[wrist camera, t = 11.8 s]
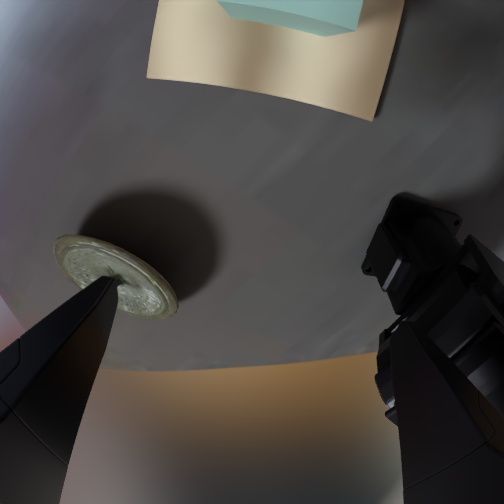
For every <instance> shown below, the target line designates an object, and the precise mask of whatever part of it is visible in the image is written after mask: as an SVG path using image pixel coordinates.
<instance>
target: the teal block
mask: <svg viewBox="0 0 504 504" xmlns="http://www.w3.org/2000/svg"><path fill="white" fill-rule="evenodd" d="M217 2H218V3H219V4H220V6H221V7H222V8H223V9H224V10H225V12H226V13H227V14H228V15H229V16H230V18H234V19H241V20H248V21H254V22H260V23H265V24H271V25H276V26H281V27H285V28H290V29H294V30H298V31H303V32H307V33H311V34H314V35H318V36H322V37H327V36H332V35H337V34H343V33H348V32H354V31H356V29H357V25H358V21H359V16H360V12H361V8H362V4H363V0H217Z"/></svg>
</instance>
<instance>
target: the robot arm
mask: <svg viewBox="0 0 504 504" xmlns="http://www.w3.org/2000/svg"><path fill="white" fill-rule="evenodd" d="M398 202H400V204H399V205H398V206H395V204H396V203H398ZM456 220H457V221H456ZM455 221H456V222H455ZM454 222H455V223H454ZM461 223H462V219H461V218H460V217H459V215H457V214H454V213H451V212H448V211H445V210H442V209H439V208H436V207H433V206H430V205H427V204H423V203H420V202H417V201H413V200H410V199H407V198H403V197H400V196H395V197H393V198H392V199H391V201H390V203H389V206H388V208H387V210H386V213H385V215H384V217H383V220H382V222H381V223H380V224H379V225H378V227H377V229H376V232H375V234H374V236H373V238H372V241H371V243H370V245H369V247H368V249H367V252H366V253H367V255H366V258H365V260H364V262H363V264H362V266H361V269H362V271H363V273H364V274H365V275H370V276H376V277H377V279H378V282H379V284H380V286H381V289H382V291H383V292H387V294H388V296H389V299H390V301H391V304H392V306H393V309H394V311H395V314H397V315H401V316H400V317H399V318H398V319H397V320H396V321H395V322H394V323H393V324H392V325H391V326H390V327H389V328H388V329H385V330H384V331H383V332H382V333H381V334H380V335H379V350H378V354H377V367H378V368H377V369H378V373H377V374H376V375H375V383H376V385H377V388H378V390H379V393H380V396H381V398H382V400H383V401H384V403H385V404H386V406H387V407H388V408H389V410H387V411H386V412H385V416H386V417H387V418H388V419H389V420H390V421H392V422H393V423H394V424H395V425H397V426H398V430H399V439H400V449H401V462H402V475H403V489H404V490H403V498H404V504H504V262H503V261H502V260H501V259H500V258H499V257H497V256H496V255H495V254H494V253H493V252H491V251H490V250H489V249H488V248H487V247H485V246H484V245H483V244H482V243H480V242H479V241H478V240H477V239H475V238H474V237H473V236H471V235H470V234H469V235H468V237H467V238H466V239H465V240H464V242H465V243H464V244H463V246H461V244H460V243H459V242H458V241H457V239H456V238H455V235H456V233H457V231H458V229H459V227H460V225H461ZM368 267H370V268H369V269H367V268H368ZM117 306H118V290H117V281H116V279H115V278H114V277H110V276H105V275H103V276H101V277H99V278H98V279H96V280H95V281H94V282H92V283H91V284H89V285H88V286H87V287H85V288H84V289H82V290H81V291H80V292H78V293H77V294H76V295H74V296H73V297H71V298H70V299H69V300H67V301H66V302H65V303H63V304H62V305H61V306H59V307H58V308H57V309H55V310H54V311H53V312H51V313H50V314H49V315H47V316H46V317H45V318H43V319H42V320H41V321H39V322H38V323H37V324H36V325H34V326H33V327H32V328H30V329H29V330H28V331H27V332H25V333H24V334H23V335H22V336H20V339H19V338H18V339H16V340H15V341H14V342H13V343H11V344H10V345H9V346H7V347H6V348H5V349H4V350H2V351H1V352H0V504H59V502H60V498H61V493H62V489H63V485H64V481H65V477H66V473H67V468H68V464H69V460H70V457H71V453H72V450H73V446H74V443H75V439H76V436H77V432H78V429H79V426H80V423H81V420H82V416H83V413H84V410H85V407H86V404H87V401H88V398H89V395H90V392H91V389H92V386H93V383H94V380H95V378H96V375H97V372H98V369H99V366H100V364H101V361H102V358H103V356H104V353H105V350H106V347H107V343H108V339H109V335H110V331H111V328H112V324H113V320H114V316H115V313H116V309H117Z"/></svg>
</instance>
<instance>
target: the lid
mask: <svg viewBox="0 0 504 504" xmlns="http://www.w3.org/2000/svg"><path fill="white" fill-rule="evenodd" d="M53 252H54V255H55V259H56V261H57V263H58V265H59V267H60V268H61V270H62V271H63V273H64V274H65V275H66V277H67V278H68V279H69V280H70V281H71V282H72V283H73V284H74V285H75V286H76V287H77V288H78V289H80V290H82V289H84V288H85V287H87V286H88V285H89V284H91V283H92V282H94V281H95V280H96V279H98V278H99V277H101V276H103V275H105V276H110V277H114V278H115V279H116V281H117V290H118V306H117V309H116V310H117V311H120V312H123V313H125V314H129V315H132V316H136V317H140V318H145V319H165V318H169V317H171V316H173V315H174V314H175V313H176V312H177V309H178V307H179V306H178V299H177V296H176V294H175V292H174V290H173V289H172V287H171V286H170V284H169V283H168V282H167V281H166V280H165V279H164V278H163V276H162V275H161V274H159V273H158V272H157V271H156V270H155V269H154V268H152V267H151V266H150V265H148V264H147V263H146V262H144V261H143V260H141V259H140V258H138V257H137V256H135V255H133V254H131V253H129V252H127V251H126V250H124V249H123V248H120V247H118V246H115V245H113V244H111V243H109V242H105V241H102V240H99V239H96V238H92V237H87V236H82V235H63V236H61V237H59V238H58V239H57V240H56V241H55V243H54V247H53Z"/></svg>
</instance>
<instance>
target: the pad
mask: <svg viewBox="0 0 504 504" xmlns="http://www.w3.org/2000/svg"><path fill="white" fill-rule="evenodd" d="M404 2H405V0H363V4H362V8H361V12H360V16H359V21H358V25H357V29H356V31H354V32H348V33H343V34H337V35H332V36H327V37H322V36H318V35H314V34H311V33H307V32H303V31H298V30H294V29H290V28H285V27H281V26H276V25H271V24H265V23H260V22H254V21H248V20H241V19H234V18H230V16H229V15H228V14H227V13H226V12H225V10H224V9H223V8H222V7H221V6H220V4H219V3H218V2H217V0H159V4H158V9H157V15H156V20H155V25H154V31H153V37H152V43H151V49H150V56H149V63H148V70H147V78H153V79H166V80H177V81H186V82H195V83H203V84H211V85H218V86H225V87H231V88H237V89H243V90H249V91H254V92H259V93H264V94H269V95H274V96H279V97H284V98H288V99H292V100H297V101H301V102H305V103H309V104H313V105H317V106H321V107H324V108H328V109H332V110H335V111H339V112H342V113H346V114H349V115H352V116H356V117H359V118H362V119H365V120H368V121H371V122H372V121H373V118H374V114H375V111H376V108H377V105H378V101H379V98H380V94H381V91H382V88H383V84H384V81H385V77H386V74H387V70H388V66H389V63H390V59H391V55H392V51H393V48H394V44H395V40H396V36H397V32H398V28H399V24H400V19H401V15H402V11H403V6H404Z"/></svg>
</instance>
